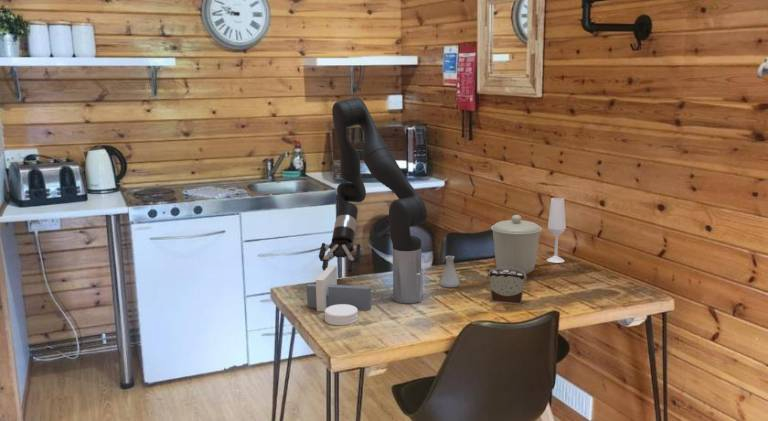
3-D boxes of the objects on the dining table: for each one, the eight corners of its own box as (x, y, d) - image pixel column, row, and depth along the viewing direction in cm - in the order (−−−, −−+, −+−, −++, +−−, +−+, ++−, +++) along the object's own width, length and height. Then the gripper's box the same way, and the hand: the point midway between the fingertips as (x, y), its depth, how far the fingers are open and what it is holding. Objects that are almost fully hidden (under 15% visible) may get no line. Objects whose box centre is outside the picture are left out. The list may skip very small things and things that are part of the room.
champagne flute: (565, 258, 272) (568, 197, 267) (563, 263, 266) (565, 200, 261) (548, 257, 274) (549, 196, 269) (545, 261, 268) (547, 200, 263)
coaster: (360, 324, 207) (360, 313, 207) (327, 327, 205) (326, 316, 205) (355, 313, 217) (354, 302, 216) (322, 316, 215) (322, 305, 214)
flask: (436, 287, 240) (436, 258, 238) (442, 280, 247) (442, 253, 245) (456, 289, 238) (457, 260, 236) (462, 283, 244) (462, 255, 242)
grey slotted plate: (371, 307, 221) (370, 286, 219) (369, 310, 218) (368, 288, 217) (309, 304, 225) (308, 283, 223) (307, 307, 222) (306, 286, 221)
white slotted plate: (330, 294, 234) (329, 265, 232) (337, 294, 234) (336, 265, 232) (316, 310, 219) (315, 279, 217) (324, 311, 219) (323, 280, 216)
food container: (528, 298, 227) (529, 268, 225) (525, 304, 221) (526, 274, 219) (490, 295, 231) (490, 265, 229) (487, 301, 225) (487, 271, 223)
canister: (503, 262, 269) (504, 208, 265) (548, 269, 258) (550, 213, 254) (481, 273, 254) (482, 216, 250) (527, 281, 244) (529, 222, 240)
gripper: (322, 224, 245) (314, 265, 237) (362, 225, 243) (355, 267, 234) (326, 235, 251) (319, 276, 243) (365, 237, 249) (359, 277, 240)
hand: (337, 271), depth 238 cm, fingers open, 8 cm apart
